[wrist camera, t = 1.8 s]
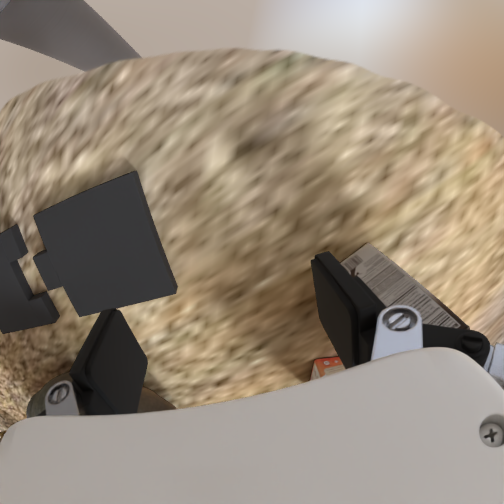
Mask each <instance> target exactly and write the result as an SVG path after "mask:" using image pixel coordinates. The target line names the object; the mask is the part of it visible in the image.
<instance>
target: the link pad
mask: <svg viewBox="0 0 504 504" xmlns="http://www.w3.org/2000/svg"><path fill="white" fill-rule="evenodd" d="M33 217H34V220H35V222H36V225H37V228H38V230H39V233H40V236H41V238H42V241H43V243H44V245H45V248H46V250H43V251H41V252H39V253H38V254H36V255H35V256H34V257H33V260H34V262H35V264H36V266H37V268H38V271H39V273H40V275H41V277H42V279H43V281H44V283H45V285H46V287H47V289H48V291H49V290H53V289H56V288H59V287H62V286H63V287H64V289H65V291H66V293H67V295H68V297H69V299H70V301H71V303H72V304H73V306H74V308H75V310H76V312H77V314H78V315H79V317H82V316H86V315H91V314H95V313H99V312H101V311H102V310H106V309H110V308H120V307H124V306H128V305H133V304H137V303H141V302H145V301H149V300H153V299H157V298H161V297H165V296H169V295H173V294H176V291H177V287H178V286H177V283H176V281H175V278H174V276H173V273H172V271H171V268H170V266H169V263H168V261H167V258H166V255H165V253H164V250H163V247H162V244H161V242H160V239H159V236H158V233H157V231H156V228H155V225H154V222H153V219H152V216H151V213H150V210H149V207H148V204H147V201H146V198H145V195H144V192H143V189H142V186H141V183H140V179H139V176H138V173H137V171H134V172H131V173H128V174H126V175H123V176H120V177H118V178H115V179H113V180H110V181H108V182H105V183H103V184H100V185H98V186H95V187H93V188H91V189H88V190H86V191H84V192H81V193H79V194H77V195H75V196H72V197H70V198H68V199H66V200H64V201H62V202H60V203H57V204H55V205H53V206H51V207H49V208H47V209H45V210H43V211H41V212H39V213H37V214H35V215H34V216H33Z"/></svg>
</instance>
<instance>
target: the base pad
mask: <svg viewBox="0 0 504 504" xmlns="http://www.w3.org/2000/svg"><path fill="white" fill-rule="evenodd" d="M27 253H28V250H27V248H26V245H25V243H24V240H23V238H22V235H21V233H20V230H19V227H18V225H17V224H16V225H15V226H13V227H11V228H9V229H7V230H6V231H4V232H2V233H1V234H0V330H1V332H2V333H3V334H5V333H10V332H15V331H20V330H24V329H29V328H34V327H38V326H43V325H47V324H52V323H55V322H56V321H57V319H58V318H59V317H60V315H59V313H58V311H57V310H56V308H55V306H54V304H53V302H52V300H51V299H50V297H49V295H48V293H47V291H46V292H43V293H39V294H36V295H33V293H32V291H31V289H30V287H29V285H28V283H27V281H26V279H25V276H24V274H23V272H22V270H21V268H20V266H19V263H18V261H17V259H20V258H22V257H23V256H24V255H26V254H27Z"/></svg>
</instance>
